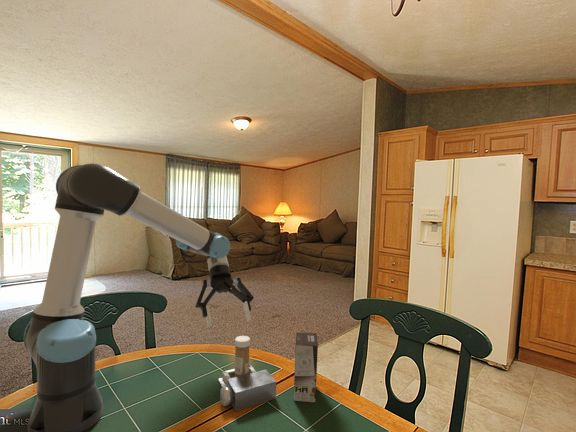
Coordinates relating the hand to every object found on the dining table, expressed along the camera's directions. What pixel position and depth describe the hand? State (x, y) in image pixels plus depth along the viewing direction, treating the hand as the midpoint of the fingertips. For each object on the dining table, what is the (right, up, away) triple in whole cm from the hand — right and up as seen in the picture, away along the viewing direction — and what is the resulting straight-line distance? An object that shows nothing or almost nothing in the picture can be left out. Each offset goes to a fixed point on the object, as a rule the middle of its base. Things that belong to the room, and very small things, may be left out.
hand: (229, 323), depth 103 cm
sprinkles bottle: (+5, -15, -9) cm, 18 cm away
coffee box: (+24, -16, -12) cm, 32 cm away
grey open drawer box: (+6, -16, -12) cm, 20 cm away
